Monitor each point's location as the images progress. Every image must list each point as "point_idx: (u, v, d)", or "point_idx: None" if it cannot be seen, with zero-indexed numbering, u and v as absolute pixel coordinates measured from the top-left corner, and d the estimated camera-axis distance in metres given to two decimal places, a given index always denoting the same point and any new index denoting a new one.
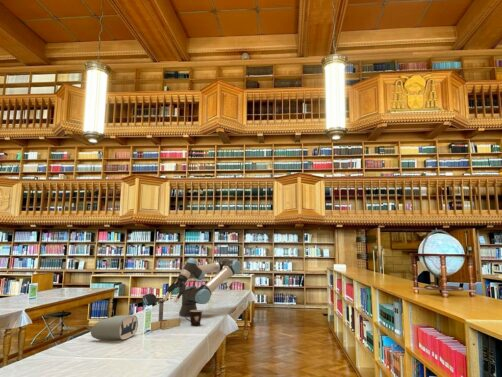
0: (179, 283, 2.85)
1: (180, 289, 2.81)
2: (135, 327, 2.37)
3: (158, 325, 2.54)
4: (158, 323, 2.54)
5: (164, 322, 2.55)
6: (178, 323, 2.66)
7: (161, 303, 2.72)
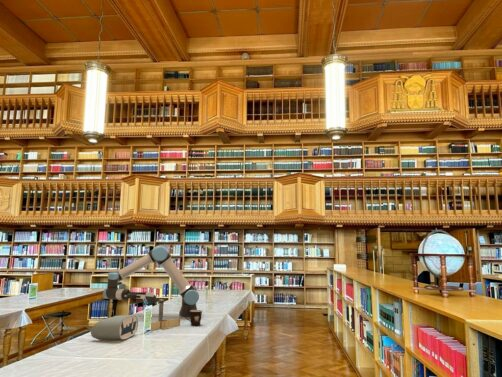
0: None
1: None
2: (135, 327, 2.37)
3: (158, 325, 2.54)
4: (158, 323, 2.54)
5: (164, 322, 2.55)
6: (178, 323, 2.66)
7: (161, 303, 2.72)
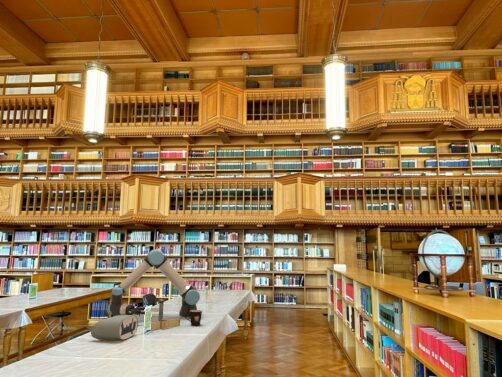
0: None
1: None
2: (135, 327, 2.37)
3: (158, 325, 2.54)
4: (158, 323, 2.54)
5: (164, 322, 2.55)
6: (178, 323, 2.66)
7: (161, 303, 2.72)
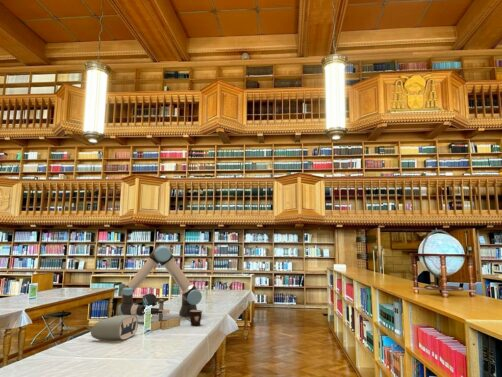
0: None
1: None
2: (135, 327, 2.37)
3: (158, 325, 2.54)
4: (158, 323, 2.54)
5: (164, 322, 2.55)
6: (178, 323, 2.66)
7: (161, 303, 2.72)
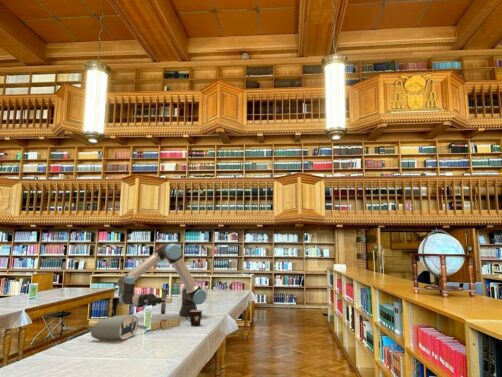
0: None
1: None
2: (135, 327, 2.37)
3: (158, 325, 2.54)
4: (158, 323, 2.54)
5: (164, 322, 2.55)
6: (178, 323, 2.66)
7: (164, 292, 2.61)
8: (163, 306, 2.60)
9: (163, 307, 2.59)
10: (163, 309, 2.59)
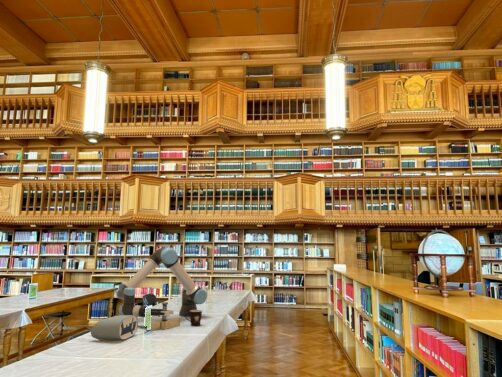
0: None
1: None
2: (135, 327, 2.37)
3: (158, 325, 2.54)
4: (158, 323, 2.54)
5: (164, 322, 2.55)
6: (178, 323, 2.66)
7: (164, 306, 2.59)
8: (164, 320, 2.57)
9: None
10: None
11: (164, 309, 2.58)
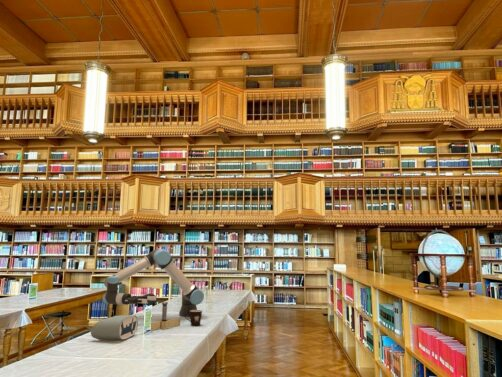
0: None
1: None
2: (135, 327, 2.37)
3: (158, 325, 2.54)
4: (158, 323, 2.54)
5: (164, 322, 2.55)
6: (178, 323, 2.66)
7: (164, 306, 2.59)
8: (164, 320, 2.57)
9: None
10: None
11: (164, 309, 2.58)
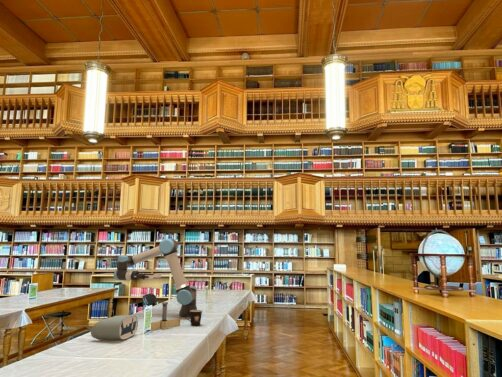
0: (139, 278, 2.96)
1: None
2: (135, 327, 2.37)
3: (158, 325, 2.54)
4: (158, 323, 2.54)
5: (164, 322, 2.55)
6: (178, 323, 2.66)
7: (164, 306, 2.59)
8: (164, 320, 2.57)
9: None
10: None
11: (164, 309, 2.58)
